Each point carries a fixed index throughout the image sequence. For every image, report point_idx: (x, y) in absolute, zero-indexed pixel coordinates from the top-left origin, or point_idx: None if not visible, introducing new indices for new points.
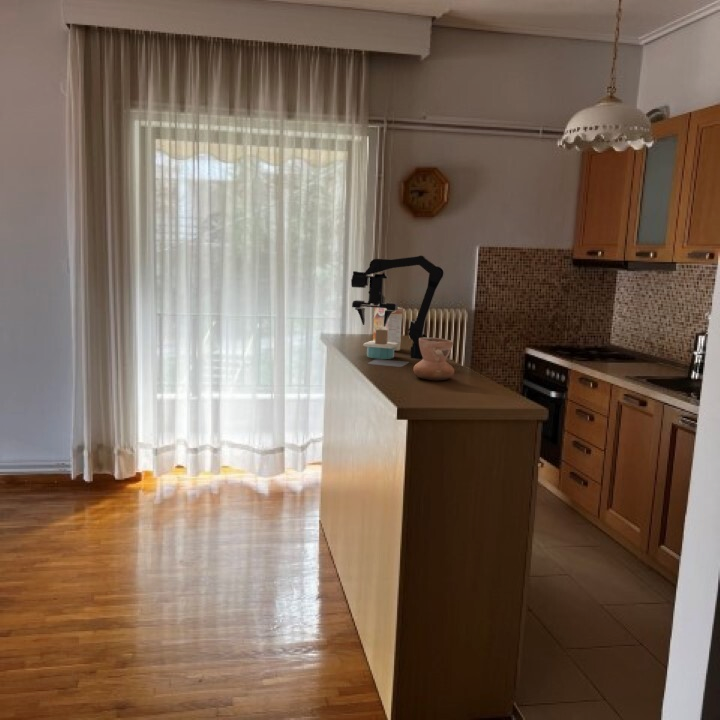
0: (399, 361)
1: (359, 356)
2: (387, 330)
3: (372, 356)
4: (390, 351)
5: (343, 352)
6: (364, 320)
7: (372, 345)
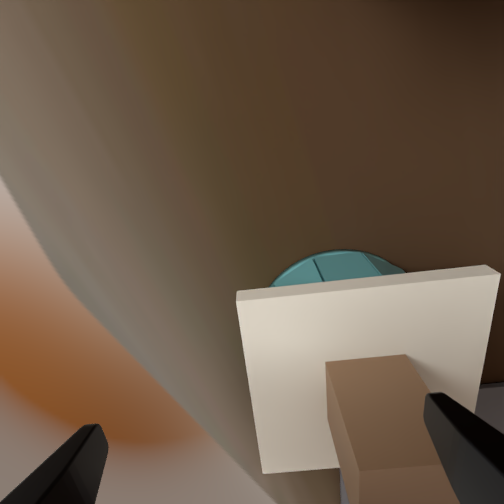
0: None
1: (219, 354)
2: None
3: None
4: None
5: (64, 282)
6: (62, 491)
7: (327, 461)
